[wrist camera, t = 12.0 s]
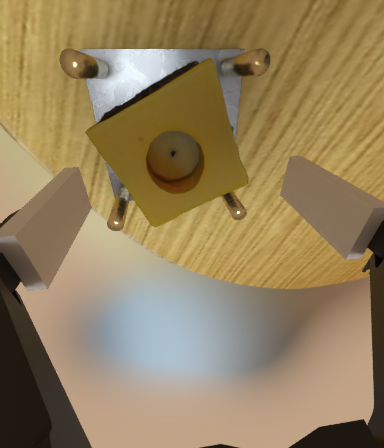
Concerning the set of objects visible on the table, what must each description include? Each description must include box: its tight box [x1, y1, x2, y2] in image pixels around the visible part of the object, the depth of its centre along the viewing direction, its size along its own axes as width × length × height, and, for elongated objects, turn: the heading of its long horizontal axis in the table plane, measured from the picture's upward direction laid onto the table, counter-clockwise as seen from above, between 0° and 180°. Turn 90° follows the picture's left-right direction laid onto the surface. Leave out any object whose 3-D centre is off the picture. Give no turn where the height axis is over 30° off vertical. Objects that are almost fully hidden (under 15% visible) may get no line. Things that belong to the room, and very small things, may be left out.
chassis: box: [60, 49, 270, 231], centre depth 22 cm, size 16×16×10 cm
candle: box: [86, 58, 248, 227], centre depth 21 cm, size 10×10×10 cm
